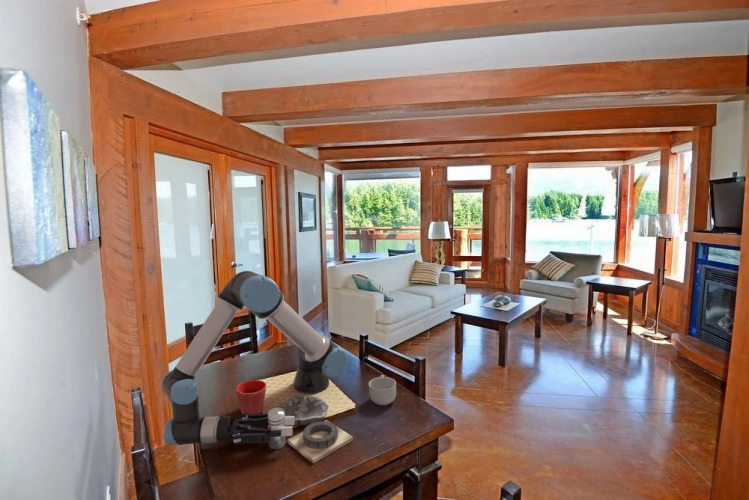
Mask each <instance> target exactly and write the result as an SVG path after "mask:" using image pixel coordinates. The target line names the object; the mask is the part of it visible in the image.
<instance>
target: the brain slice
mask: <svg viewBox="0 0 749 500" xmlns="http://www.w3.org/2000/svg"><path fill="white" fill-rule="evenodd" d="M275 408H283V409H284V410H285V416H294V425H293V426H298V425H300V426H308V425H310V424H312V423H315V422H320V421H322V422H323V421H324V419H325V417H326V416H327V414H328V410H329V404H327V403H326V401H324V400H323V399H322V398H319V397H318V396H314V395H307V396H301V395H296V396H294V397H290V398H289V399H287V400H286V401H283V402H282V403H281V404H279V405H277V406H276V407H275Z"/></svg>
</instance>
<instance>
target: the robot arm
mask: <svg viewBox="0 0 749 500" xmlns="http://www.w3.org/2000/svg"><path fill="white" fill-rule="evenodd" d="M284 295H285V294H284V292H282V291H281V290H280V287H279V286H278V284H277V283H276V282H275V281H274V280H273V279H272V278H270V277H268V276H266V275H261V274H259V273H256V272H254V271H250V270H243V271H240V272H238V273H236V274H234V275H233V276H232V277H231V278H230V279H229V280H228V282H227V283H226V284H225V285H224V287H223V289H222V290H221V292H220V293H219V295H218V296H217V303H216V304H215V306H214V307H213V309H212V310H211V311H210V313H209V314H208V316H207V318H206V319H205V321H204V323H202V326H201V327H200V328H199V330H198V331H197V333H196V335H195V336H194V338H193V339H192V341H191V342H190V344H189V345H188V347H187V348H186V350H185V351H184V353H183V354H182V356H181V358H180V359H179V360H178V362H177V363H176V365H175V366H174V368H173V369H171V370H170V371H167V372H166V373H165V374H164V375H163V377H162V378H161V387H162V391H163V392H164V394H165V396H166V398H167V399H168V402H169V403H170V406H171V417H172V418H170V419H168V420H167V422H166V424H165V426H164V433H163V439H164V442H165V444H167V445H170V446H171V445H175V446H176V445H177V446H183V445H191V444H192V445H193V444H194V445H195V444H213V443H214V444H215V443H217V442H218V443H229V442H230V441H232V439H233V445H234V446H237V445H240V444H257V443H259V444H260V443H261V444H262V443H267V442H269V441H270V440H271V437H279V436H285V437H290V436H291V437H293V426H295V425H294V416H285V427H271V431H270V429H268V428H262V427H268V412H261V413H259V414H248V413H245V414H242V418H237V419H235V418H234V416H232V415H223V416H221V417H220V416H216V415H215V416H203V417H202V416H200V404H199V401H200V397H199V393H200V390H199V387H198V385H199V384H198V382H197V380H195V378H196V376H198V374H199V372H200V370H201V369H202V367H203V365H204V364H205V362H206V361H207V359H208V358H209V357H210V355H211V353H212V352H213V350H214V348H215V347H216V346H217V344H218V342H219V341H220V339H221V338H222V336H224V335H223V334H224V333H226V330H227V329H228V327H229V326H230V324H231V322H232V321H233V319H234V317H235V316H236V315H237V313H239V312H241V311H243V309H244V307H245V308H247V309H248V310H249V311H250V312H251V313H252V314H253V315H255V316H256V317H257V318H258V319H261V320H263V319H264V320H265V319H266V320H267V321H268V322H270V324H272V325H273V326H274V327H275V328H277V330H279V332H281V334H283V335H284V336H285V337H286V338H287V339H289V340H290V341H291V342H292V343H293V344H294V345H295V346H296V349H297V350H296V351H297V352H296V356H297V358H296V359H297V360H296V363H297V370H296V373H295V377H294V379H293V388H294V390H295V391H296V392H299V393H301V394H315V393H319V392H322V390H323V391H324V390H325V391H326V389H327V388H328V387H329V386H330V378H335V377H337V376H339V375H340V374H341V373H343V371H344V370H345V368H346V366H347V362H348V353H347V351H346V350H344V348H342V347H340V346H338V345H337V344H336V343H334V342H333V341H332V340H331V339H330V338H329V337H328V335H325V334H326V333H325V332H323V331H319V330H317V331H316V330H315V329H314V328H313V327H312V326H311V325H310V324H309V323H308V322H307V321H306V320H305V319H304V318H303V317H302V316H301V315H300V314H299V313H297V312H296V310H294V309H293V308H292V306H290V305H289V304H288V302H286V301H285V296H284Z"/></svg>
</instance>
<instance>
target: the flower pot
mask: <svg viewBox="0 0 749 500" xmlns="http://www.w3.org/2000/svg"><path fill="white" fill-rule="evenodd" d="M266 391H267V383H266V382H265V381H263V380H260V379H253V380H251V379H250V380H247V381H246V380H245V381H244V382H241V383H240V384H238V385H237V386H236V395H237V400H238V401H237V402H238V405H239V409H240V413H241V415H243V414H245V413H248V414H259V413H263V412H262V411H263V409H264V402H265V397H266Z"/></svg>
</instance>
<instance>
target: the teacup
mask: <svg viewBox="0 0 749 500" xmlns="http://www.w3.org/2000/svg"><path fill="white" fill-rule="evenodd" d="M368 390H369V397H370V399H371V401H372V402H373V403H375V405H379V406H388V405H390V404H391V403H392V402H394V401H395V399H396V396H397V382H396V380H395V379H394V378H391V377H387V376H385V375H383V374H380V376H377V377H375V378H374V377H373V378H372V379H371V380H369V382H368Z"/></svg>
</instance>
